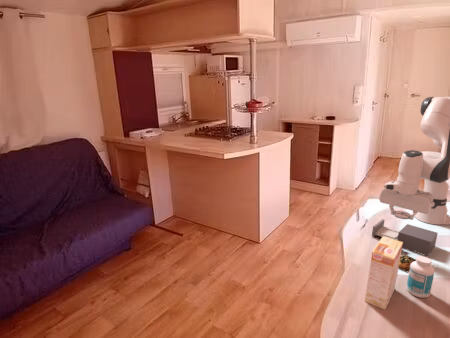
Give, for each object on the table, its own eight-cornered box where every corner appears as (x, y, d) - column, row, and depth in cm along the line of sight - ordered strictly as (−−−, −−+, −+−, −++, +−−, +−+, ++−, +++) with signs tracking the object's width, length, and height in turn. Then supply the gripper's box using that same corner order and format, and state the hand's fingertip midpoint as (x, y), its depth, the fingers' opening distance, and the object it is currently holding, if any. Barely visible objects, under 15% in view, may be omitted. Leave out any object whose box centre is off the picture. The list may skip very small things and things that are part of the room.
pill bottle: (422, 286, 117) (429, 254, 114) (433, 299, 110) (441, 265, 107) (402, 285, 118) (408, 253, 114) (411, 297, 111) (418, 264, 107)
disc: (396, 212, 144) (397, 209, 143) (411, 216, 140) (411, 213, 139) (392, 216, 140) (393, 212, 139) (407, 220, 136) (407, 216, 135)
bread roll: (425, 275, 124) (425, 264, 123) (394, 273, 128) (394, 262, 127) (418, 262, 134) (419, 251, 134) (390, 260, 138) (390, 250, 137)
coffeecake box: (374, 281, 120) (382, 235, 115) (395, 289, 115) (404, 241, 110) (363, 301, 108) (371, 251, 103) (385, 310, 104) (394, 258, 99)
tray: (380, 228, 165) (382, 219, 163) (408, 237, 156) (410, 227, 154) (371, 236, 156) (372, 226, 154) (399, 245, 147) (401, 235, 145)
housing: (404, 236, 157) (407, 224, 155) (434, 246, 148) (437, 232, 146) (396, 245, 148) (398, 232, 146) (427, 256, 139) (430, 241, 137)
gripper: (436, 191, 131) (430, 221, 135) (385, 181, 145) (381, 208, 149) (432, 195, 127) (426, 226, 131) (380, 183, 141) (376, 212, 145)
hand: (401, 216), depth 140 cm, fingers closed on disc, 6 cm apart
